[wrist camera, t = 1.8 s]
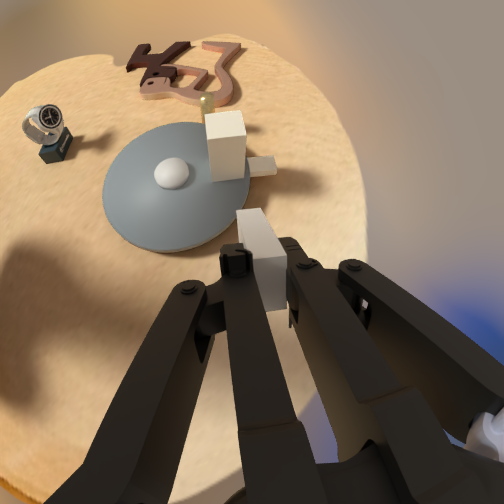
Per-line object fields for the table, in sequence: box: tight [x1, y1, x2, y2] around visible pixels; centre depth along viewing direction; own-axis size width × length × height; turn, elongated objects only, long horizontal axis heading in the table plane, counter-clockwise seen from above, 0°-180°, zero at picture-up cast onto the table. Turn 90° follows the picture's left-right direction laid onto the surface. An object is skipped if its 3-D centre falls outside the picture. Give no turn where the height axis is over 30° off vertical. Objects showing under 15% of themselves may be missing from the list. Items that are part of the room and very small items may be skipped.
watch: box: [22, 104, 73, 164], centre depth 32 cm, size 6×8×11 cm
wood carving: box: [126, 41, 241, 107], centre depth 44 cm, size 28×2×24 cm
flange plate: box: [102, 110, 277, 253], centre depth 30 cm, size 24×20×9 cm
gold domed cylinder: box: [199, 92, 215, 124], centre depth 36 cm, size 2×2×7 cm
